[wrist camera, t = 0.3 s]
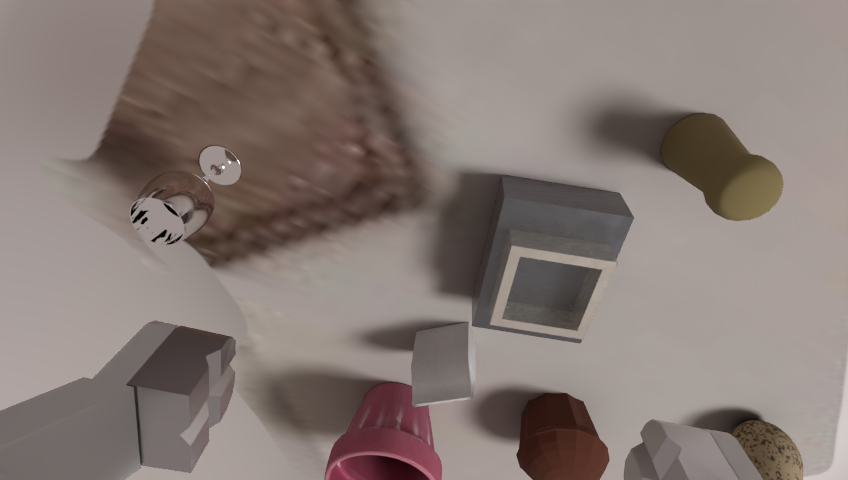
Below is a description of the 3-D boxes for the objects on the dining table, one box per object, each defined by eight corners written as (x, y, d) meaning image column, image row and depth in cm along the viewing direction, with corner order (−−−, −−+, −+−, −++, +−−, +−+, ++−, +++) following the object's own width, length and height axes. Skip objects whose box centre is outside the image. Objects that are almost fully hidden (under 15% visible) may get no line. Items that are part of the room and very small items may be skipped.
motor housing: (501, 174, 48) (506, 212, 41) (619, 193, 48) (643, 234, 41) (472, 297, 57) (472, 345, 50) (572, 313, 57) (586, 363, 50)
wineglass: (182, 158, 50) (108, 213, 40) (218, 128, 48) (150, 178, 38) (222, 199, 53) (162, 261, 42) (259, 173, 50) (205, 231, 40)
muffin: (496, 406, 66) (500, 474, 58) (566, 373, 62) (580, 441, 54) (545, 450, 71) (555, 519, 62) (613, 422, 66) (634, 493, 58)
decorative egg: (751, 447, 66) (791, 521, 58) (707, 432, 66) (741, 504, 57) (790, 417, 63) (840, 491, 54) (744, 400, 62) (787, 473, 53)
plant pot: (329, 379, 67) (301, 464, 56) (422, 358, 63) (412, 445, 52) (372, 442, 73) (355, 529, 62) (459, 426, 69) (457, 516, 59)
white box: (416, 331, 60) (407, 394, 52) (468, 321, 59) (467, 385, 50) (425, 351, 62) (417, 416, 54) (475, 343, 61) (476, 408, 52)
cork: (715, 99, 43) (783, 143, 33) (740, 152, 45) (809, 207, 36) (649, 137, 45) (696, 189, 36) (676, 185, 47) (726, 245, 38)
